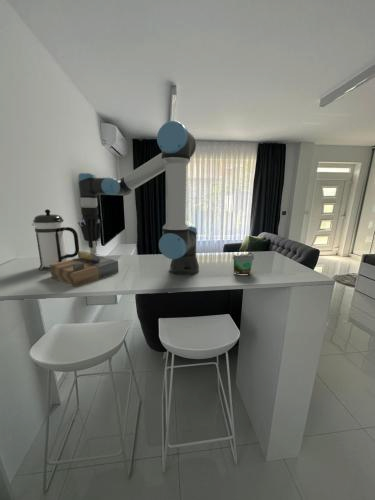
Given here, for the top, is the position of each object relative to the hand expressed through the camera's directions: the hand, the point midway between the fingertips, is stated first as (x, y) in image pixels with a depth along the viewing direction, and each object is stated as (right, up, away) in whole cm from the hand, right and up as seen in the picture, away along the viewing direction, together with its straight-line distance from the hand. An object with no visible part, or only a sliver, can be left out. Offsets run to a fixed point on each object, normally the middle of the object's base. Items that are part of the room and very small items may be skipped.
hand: (93, 253), depth 109 cm
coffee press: (-20, -7, +3) cm, 22 cm away
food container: (+78, -11, -3) cm, 78 cm away
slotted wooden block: (0, -10, -7) cm, 12 cm away
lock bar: (0, -3, -6) cm, 6 cm away
